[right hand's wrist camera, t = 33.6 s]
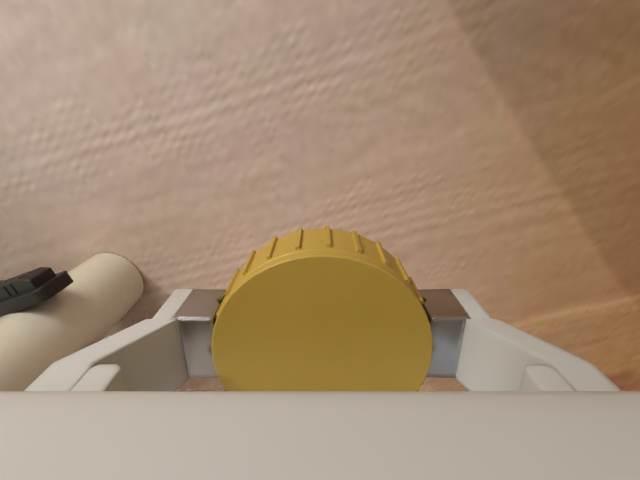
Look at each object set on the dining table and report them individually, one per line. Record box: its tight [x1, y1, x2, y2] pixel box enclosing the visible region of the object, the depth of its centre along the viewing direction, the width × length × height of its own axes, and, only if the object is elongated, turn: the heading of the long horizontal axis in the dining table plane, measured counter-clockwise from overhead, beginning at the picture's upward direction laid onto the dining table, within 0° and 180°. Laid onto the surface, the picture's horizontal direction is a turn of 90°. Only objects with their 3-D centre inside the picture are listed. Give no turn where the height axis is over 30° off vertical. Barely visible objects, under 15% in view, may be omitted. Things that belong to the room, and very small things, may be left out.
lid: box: [212, 226, 433, 391], centre depth 9 cm, size 6×6×2 cm
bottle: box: [0, 253, 144, 391], centre depth 17 cm, size 5×5×18 cm
